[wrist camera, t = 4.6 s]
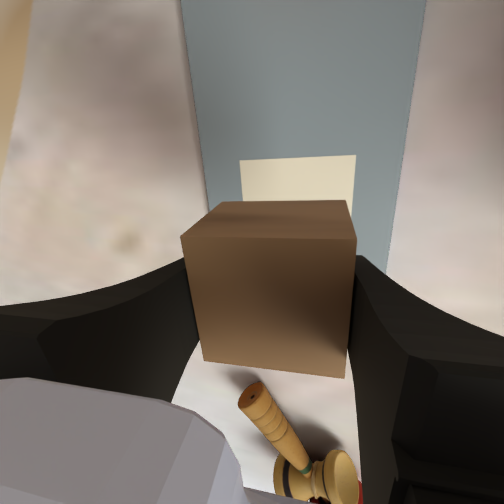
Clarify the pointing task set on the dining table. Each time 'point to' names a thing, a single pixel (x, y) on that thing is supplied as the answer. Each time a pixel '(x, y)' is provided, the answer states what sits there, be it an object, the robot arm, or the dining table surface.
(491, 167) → the dining table surface
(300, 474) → the kendama
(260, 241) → the walnut block
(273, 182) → the board
